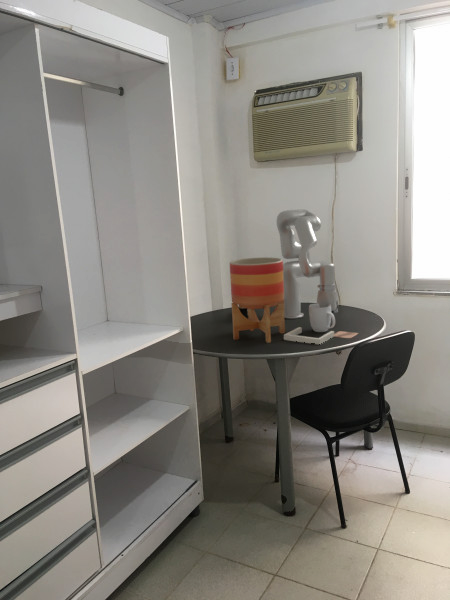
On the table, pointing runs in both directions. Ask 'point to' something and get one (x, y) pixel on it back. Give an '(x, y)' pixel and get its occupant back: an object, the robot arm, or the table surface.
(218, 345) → the table surface
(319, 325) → the mug
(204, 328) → the table surface
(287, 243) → the robot arm
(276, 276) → the planter
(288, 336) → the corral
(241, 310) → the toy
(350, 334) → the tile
